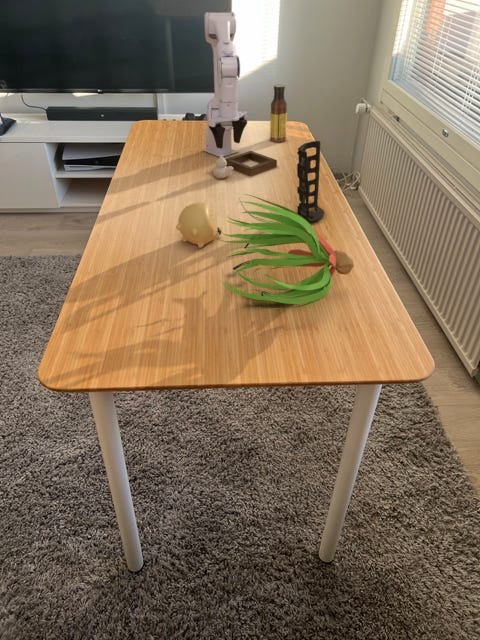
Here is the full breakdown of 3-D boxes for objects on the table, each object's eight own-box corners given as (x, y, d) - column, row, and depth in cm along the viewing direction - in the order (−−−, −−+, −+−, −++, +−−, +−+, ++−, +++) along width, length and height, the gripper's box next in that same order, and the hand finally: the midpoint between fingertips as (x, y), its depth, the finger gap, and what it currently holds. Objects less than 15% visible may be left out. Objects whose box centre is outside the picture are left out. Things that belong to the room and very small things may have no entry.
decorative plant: (357, 331, 113) (226, 351, 106) (315, 256, 129) (199, 269, 121) (396, 239, 94) (240, 255, 86) (342, 164, 110) (206, 172, 102)
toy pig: (214, 259, 134) (234, 223, 135) (194, 240, 123) (215, 202, 124) (186, 246, 138) (205, 212, 139) (164, 227, 128) (184, 190, 128)
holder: (322, 224, 142) (323, 152, 130) (295, 224, 144) (293, 153, 132) (325, 208, 151) (326, 139, 139) (299, 208, 152) (298, 140, 141)
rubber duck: (213, 174, 171) (213, 150, 166) (233, 175, 171) (233, 151, 166) (212, 180, 167) (211, 156, 162) (232, 181, 166) (232, 157, 162)
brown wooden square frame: (224, 166, 177) (224, 158, 176) (250, 157, 184) (250, 150, 183) (250, 176, 170) (250, 169, 168) (276, 167, 177) (277, 160, 176)
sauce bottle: (286, 137, 203) (289, 83, 191) (285, 143, 198) (289, 87, 186) (269, 137, 203) (272, 83, 191) (268, 142, 198) (271, 87, 186)
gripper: (219, 107, 150) (219, 153, 159) (254, 99, 159) (252, 143, 167) (203, 102, 154) (204, 147, 163) (238, 94, 163) (237, 137, 171)
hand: (228, 145), depth 165 cm, fingers open, 7 cm apart
